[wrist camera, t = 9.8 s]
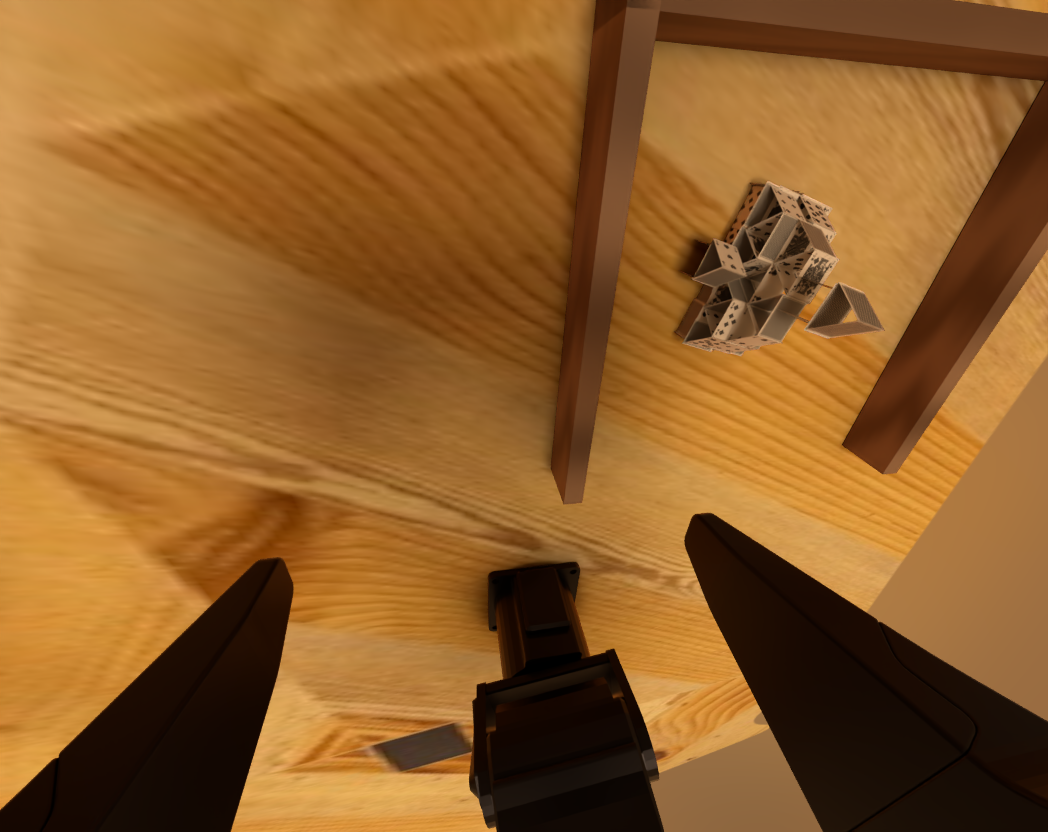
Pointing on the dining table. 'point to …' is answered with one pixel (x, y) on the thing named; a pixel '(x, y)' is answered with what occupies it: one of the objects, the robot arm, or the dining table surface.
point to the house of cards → (771, 277)
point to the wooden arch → (836, 33)
